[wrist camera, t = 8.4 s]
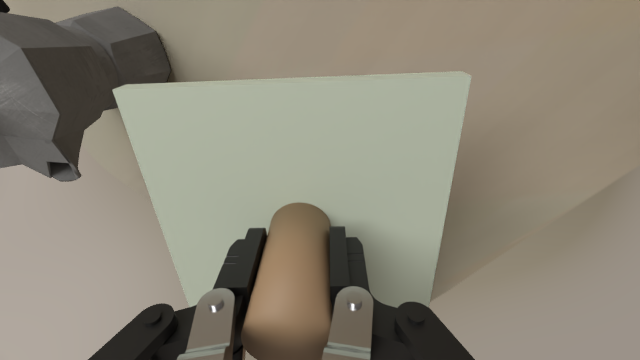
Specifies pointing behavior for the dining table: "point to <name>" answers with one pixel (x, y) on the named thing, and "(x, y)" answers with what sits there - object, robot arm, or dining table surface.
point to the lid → (300, 186)
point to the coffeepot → (67, 82)
